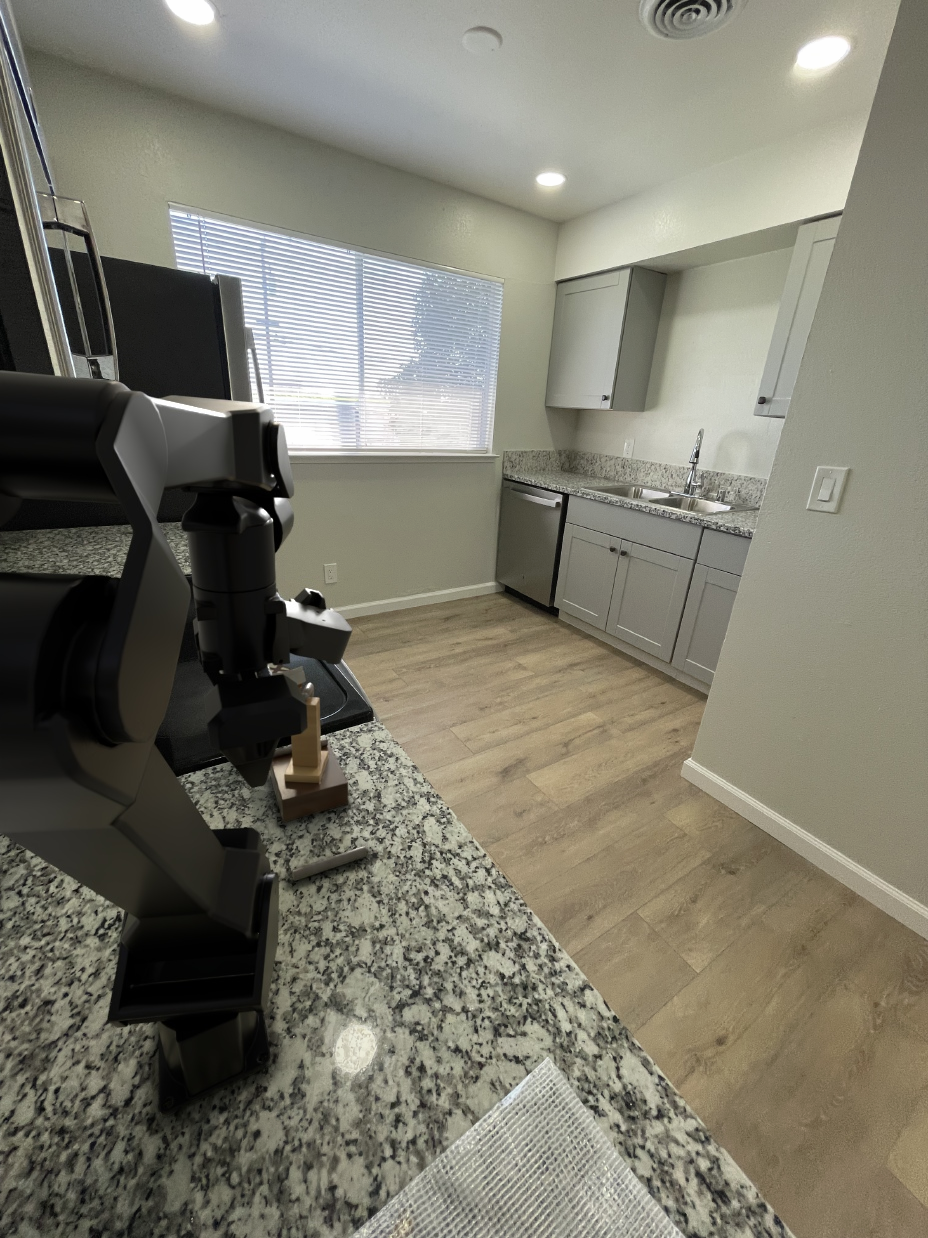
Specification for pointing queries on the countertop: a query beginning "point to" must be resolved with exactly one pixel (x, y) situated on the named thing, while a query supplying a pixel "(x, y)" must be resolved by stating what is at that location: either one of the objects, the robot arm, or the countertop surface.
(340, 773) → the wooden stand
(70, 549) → the countertop surface
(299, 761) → the wooden post stand
